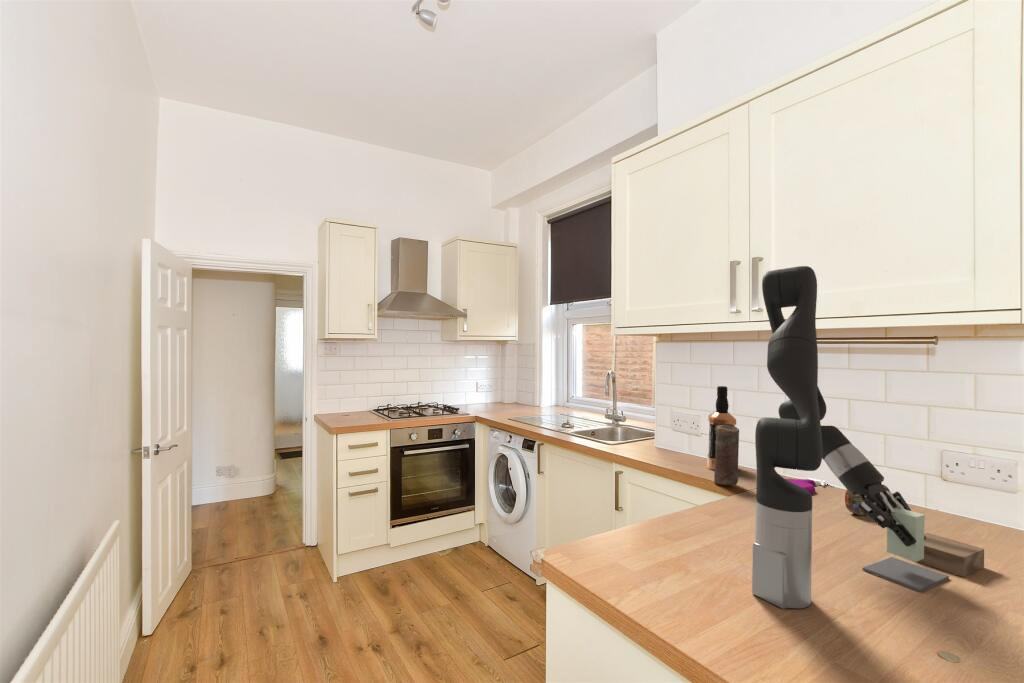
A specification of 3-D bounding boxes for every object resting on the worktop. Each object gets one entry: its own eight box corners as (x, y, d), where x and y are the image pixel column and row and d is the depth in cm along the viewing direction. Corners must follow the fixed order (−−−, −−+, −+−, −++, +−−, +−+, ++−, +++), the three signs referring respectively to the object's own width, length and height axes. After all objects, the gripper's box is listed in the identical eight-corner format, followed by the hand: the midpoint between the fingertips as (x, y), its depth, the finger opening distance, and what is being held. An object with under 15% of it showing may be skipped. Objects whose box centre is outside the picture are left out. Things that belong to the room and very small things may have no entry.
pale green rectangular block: (915, 561, 97) (916, 517, 97) (886, 552, 101) (887, 509, 101) (923, 558, 98) (924, 514, 98) (895, 549, 103) (895, 507, 103)
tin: (852, 517, 134) (853, 487, 134) (842, 513, 137) (842, 484, 137) (892, 513, 138) (893, 484, 138) (881, 509, 141) (882, 481, 141)
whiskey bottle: (706, 463, 195) (707, 384, 195) (733, 465, 192) (734, 385, 192) (708, 469, 185) (709, 386, 185) (736, 472, 182) (737, 387, 182)
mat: (920, 592, 92) (920, 589, 92) (862, 570, 101) (862, 567, 101) (948, 579, 98) (948, 576, 98) (891, 559, 107) (891, 556, 107)
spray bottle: (765, 490, 160) (803, 481, 173) (800, 499, 151) (837, 489, 164) (766, 481, 160) (803, 473, 173) (800, 490, 151) (837, 480, 164)
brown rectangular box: (963, 577, 99) (963, 557, 99) (905, 557, 108) (906, 540, 108) (984, 567, 104) (984, 548, 104) (927, 549, 113) (927, 532, 113)
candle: (737, 483, 166) (738, 425, 167) (739, 488, 160) (740, 428, 160) (713, 480, 169) (714, 424, 169) (714, 486, 162) (715, 427, 162)
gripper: (848, 463, 103) (916, 540, 92) (882, 457, 110) (949, 528, 99) (822, 481, 108) (884, 557, 97) (856, 474, 114) (918, 544, 104)
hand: (916, 542), depth 98 cm, fingers closed on pale green rectangular block, 3 cm apart
